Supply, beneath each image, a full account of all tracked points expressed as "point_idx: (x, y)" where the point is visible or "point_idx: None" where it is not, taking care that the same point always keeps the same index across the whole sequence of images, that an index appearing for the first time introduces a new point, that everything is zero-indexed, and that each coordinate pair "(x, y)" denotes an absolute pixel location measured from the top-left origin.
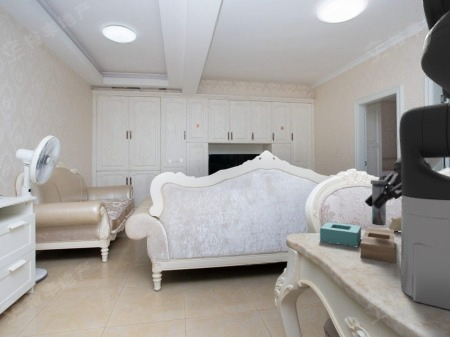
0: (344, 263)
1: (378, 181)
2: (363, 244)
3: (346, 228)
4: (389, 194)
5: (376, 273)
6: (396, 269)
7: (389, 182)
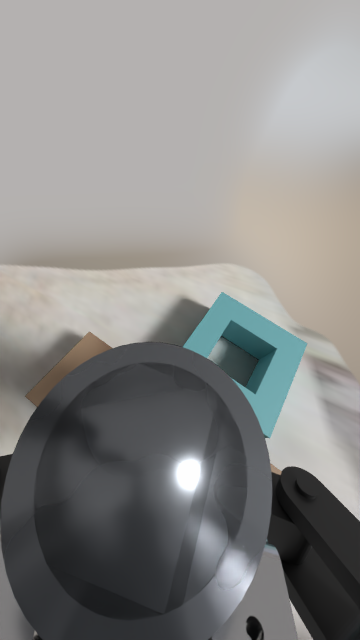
0: (71, 295)
1: (59, 386)
2: (85, 337)
3: (257, 382)
4: (6, 461)
5: (9, 324)
6: (11, 378)
7: (9, 629)
